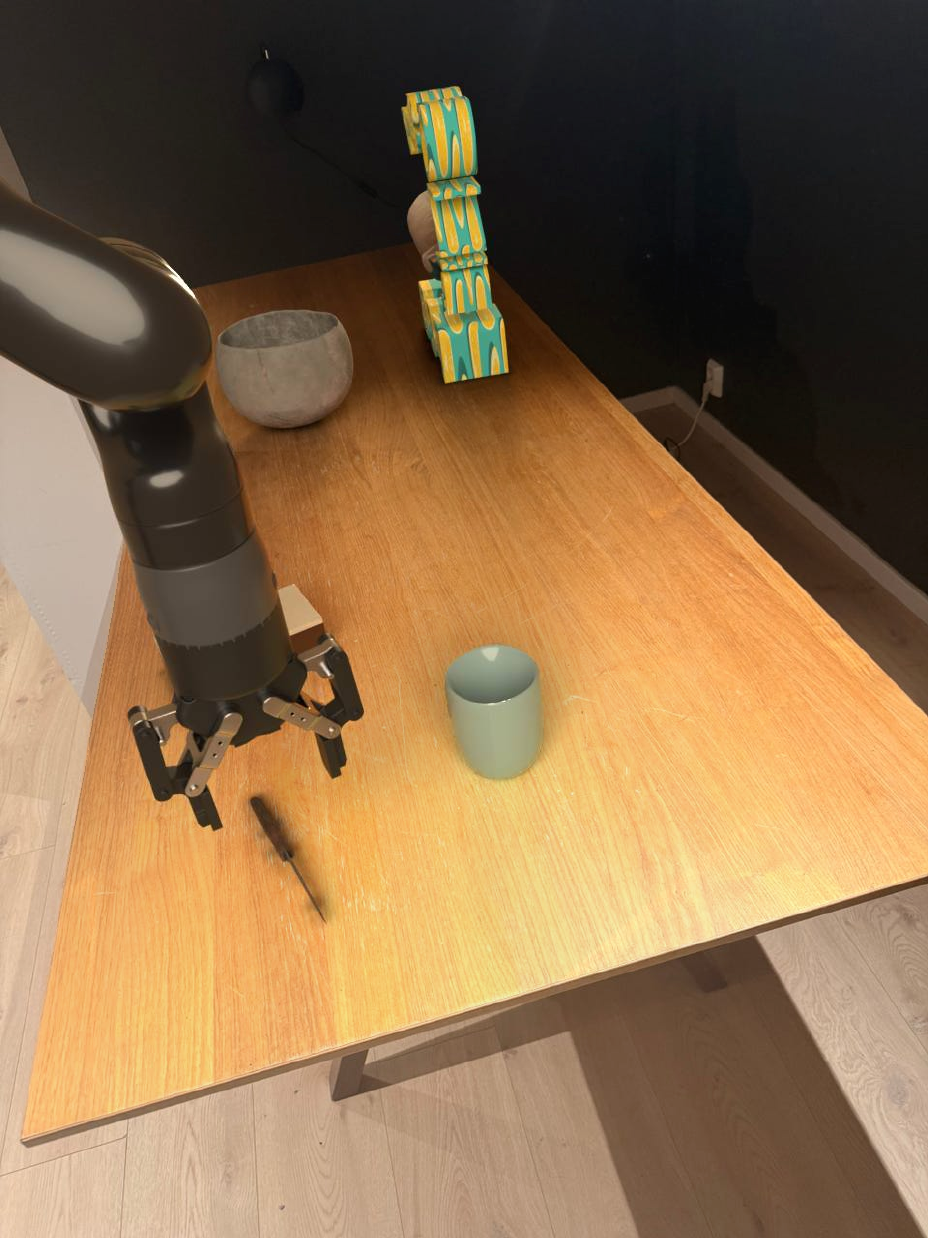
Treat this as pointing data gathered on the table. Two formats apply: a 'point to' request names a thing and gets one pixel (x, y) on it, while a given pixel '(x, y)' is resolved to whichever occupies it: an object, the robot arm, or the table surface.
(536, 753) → the cup
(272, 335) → the bowl
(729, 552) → the table surface
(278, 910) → the table surface
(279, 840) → the knife
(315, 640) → the slice
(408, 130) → the party decoration
